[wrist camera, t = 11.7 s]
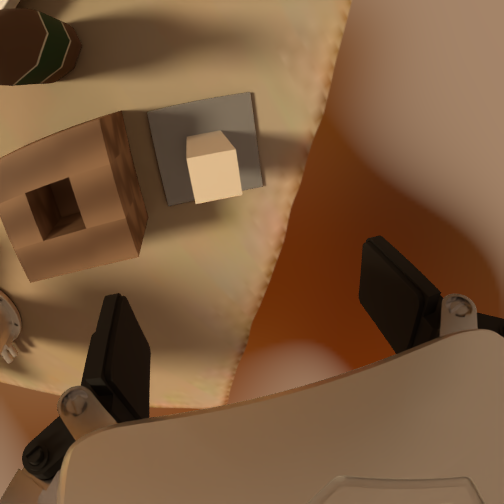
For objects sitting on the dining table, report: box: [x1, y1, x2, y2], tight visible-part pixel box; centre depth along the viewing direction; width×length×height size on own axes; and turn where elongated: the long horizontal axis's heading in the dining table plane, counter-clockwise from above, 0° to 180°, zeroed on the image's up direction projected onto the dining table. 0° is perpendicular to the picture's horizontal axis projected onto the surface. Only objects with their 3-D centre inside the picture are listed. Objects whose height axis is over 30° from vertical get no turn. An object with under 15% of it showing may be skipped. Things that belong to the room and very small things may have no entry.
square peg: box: [186, 130, 242, 204], centre depth 30 cm, size 4×4×12 cm
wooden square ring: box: [0, 111, 148, 283], centre depth 30 cm, size 14×14×10 cm
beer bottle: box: [0, 8, 82, 86], centre depth 15 cm, size 8×8×24 cm
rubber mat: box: [147, 92, 263, 206], centre depth 35 cm, size 12×12×1 cm
